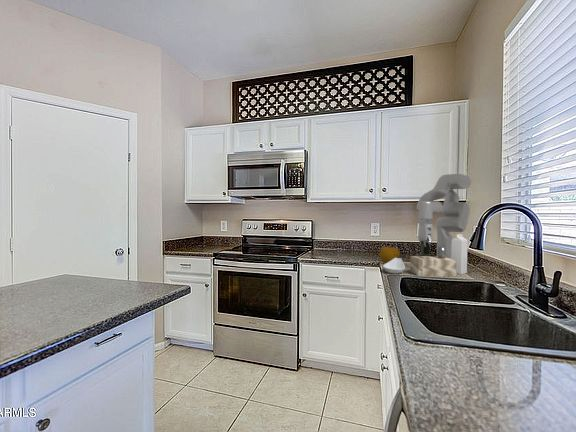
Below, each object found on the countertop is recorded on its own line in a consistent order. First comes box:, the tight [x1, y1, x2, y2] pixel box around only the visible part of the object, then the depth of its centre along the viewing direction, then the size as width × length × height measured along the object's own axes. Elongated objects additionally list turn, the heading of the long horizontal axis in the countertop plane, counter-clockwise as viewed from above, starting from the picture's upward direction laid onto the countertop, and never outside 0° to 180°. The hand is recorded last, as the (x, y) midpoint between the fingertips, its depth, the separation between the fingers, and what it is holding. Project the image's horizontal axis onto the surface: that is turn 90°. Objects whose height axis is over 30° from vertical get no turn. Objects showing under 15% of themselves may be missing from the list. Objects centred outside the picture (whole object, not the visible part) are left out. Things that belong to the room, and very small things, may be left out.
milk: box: [451, 233, 469, 275], centre depth 172 cm, size 6×6×22 cm
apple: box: [378, 246, 401, 265], centre depth 197 cm, size 13×13×11 cm
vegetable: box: [420, 242, 429, 256], centre depth 178 cm, size 4×4×20 cm
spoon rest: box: [382, 257, 406, 275], centre depth 173 cm, size 24×12×7 cm, turn 150°
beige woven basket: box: [409, 247, 457, 277], centre depth 166 cm, size 20×11×15 cm, turn 90°
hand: (424, 252), depth 178 cm, fingers closed on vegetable, 4 cm apart
